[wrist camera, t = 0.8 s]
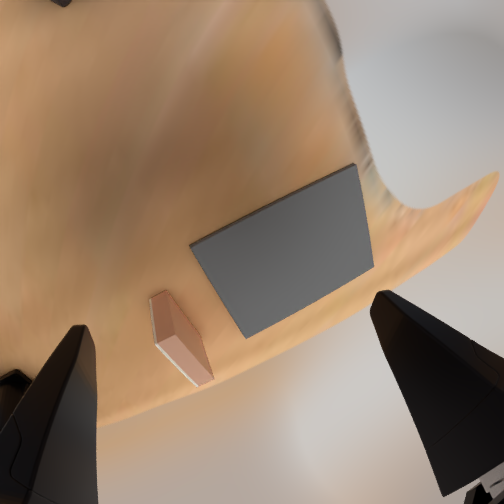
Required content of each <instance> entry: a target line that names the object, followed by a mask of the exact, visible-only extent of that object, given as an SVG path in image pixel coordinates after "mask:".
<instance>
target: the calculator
mask: <svg viewBox="0 0 504 504" xmlns="http://www.w3.org/2000/svg"><path fill="white" fill-rule="evenodd" d="M51 1H53V2H54V3H56V4H58V5H60V6H62V7H65V6H66V5H68V4H69V3H70V2H71V0H51Z"/></svg>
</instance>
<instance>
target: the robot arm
mask: <svg viewBox="0 0 504 504" xmlns="http://www.w3.org/2000/svg"><path fill="white" fill-rule="evenodd" d="M370 316H371V319H372V322H373V324H374V327H375V330H376V333H377V335H378V338H379V341H380V344H381V347H382V350H383V352H384V354H385V357H386V359H387V361H388V363H389V366H390V368H391V370H392V372H393V374H394V377H395V379H396V381H397V383H398V386H399V388H400V390H401V392H402V395H403V397H404V399H405V402H406V404H407V406H408V409H409V411H410V413H411V416H412V418H413V421H414V423H415V425H416V428H417V430H418V433H419V435H420V438H421V440H422V442H423V445H424V448H425V450H426V453H427V456H428V459H429V461H430V464H431V467H432V469H433V472H434V475H435V477H436V480H437V483H438V485H439V488H440V491H441V494H442V496H443V497H445V496H447V495H449V494H451V493H453V492H455V491H457V490H458V489H460V488H462V487H464V486H466V485H467V484H469V483H471V482H473V481H474V480H476V479H478V478H479V480H480V482H479V483H478V484H477V485H476V486H474V487H473V488H472V489H470V490H469V491H468V492H467V493H466V497H465V501H464V504H504V358H502V357H500V356H498V355H497V354H495V353H493V352H491V351H489V350H487V349H486V348H484V347H483V346H481V345H479V344H478V343H476V342H475V341H473V340H470V338H468V337H467V336H465V335H463V334H462V333H460V332H459V331H457V330H455V329H454V328H452V327H450V326H449V325H447V324H445V323H444V322H442V321H441V320H439V319H437V318H435V317H434V316H432V315H431V314H429V313H427V312H426V311H424V310H422V309H421V308H419V307H417V306H416V305H414V304H412V303H411V302H409V301H407V300H405V299H404V298H402V297H400V296H399V295H397V294H395V293H394V292H392V291H390V290H383V291H379V292H377V294H376V296H375V298H374V301H373V303H372V306H371V308H370ZM96 421H97V381H96V351H95V344H94V341H93V339H92V337H91V334H90V332H89V329H88V327H87V326H86V325H73V326H72V327H71V328H70V330H69V331H68V332H67V334H66V335H65V336H64V338H63V339H62V341H61V342H60V343H59V345H58V346H57V347H56V349H55V350H54V352H53V353H52V354H51V356H50V357H49V359H48V360H47V362H46V363H45V364H44V366H43V367H42V369H41V370H40V372H39V373H38V375H37V376H36V378H35V379H34V381H33V382H32V381H31V380H29V379H28V378H27V377H26V376H25V375H23V374H22V373H21V372H20V371H18V370H14V371H12V372H10V373H8V374H6V375H5V376H3V377H1V378H0V504H98V491H97V470H96Z"/></svg>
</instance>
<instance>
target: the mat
mask: <svg viewBox="0 0 504 504" xmlns="http://www.w3.org/2000/svg"><path fill="white" fill-rule="evenodd" d="M189 246H190V248H191V250H192V252H193V254H194V255H195V257H196V259H197V260H198V262H199V264H200V265H201V267H202V269H203V270H204V272H205V274H206V275H207V277H208V279H209V280H210V282H211V284H212V285H213V287H214V289H215V290H216V292H217V294H218V295H219V297H220V298H221V300H222V302H223V303H224V305H225V307H226V308H227V310H228V311H229V313H230V315H231V316H232V318H233V319H234V321H235V323H236V324H237V326H238V327H239V329H240V331H241V332H242V334H243V335H244V337H245V338H246V339H247V338H249V337H251V336H253V335H255V334H256V333H258V332H260V331H262V330H264V329H266V328H268V327H270V326H272V325H274V324H275V323H277V322H279V321H281V320H283V319H285V318H286V317H288V316H290V315H292V314H294V313H296V312H297V311H299V310H301V309H303V308H305V307H306V306H308V305H310V304H312V303H314V302H315V301H317V300H319V299H321V298H322V297H324V296H326V295H328V294H329V293H331V292H333V291H334V290H336V289H338V288H340V287H341V286H343V285H345V284H346V283H348V282H350V281H351V280H353V279H355V278H356V277H358V276H360V275H361V274H363V273H365V272H366V271H368V270H370V269H371V268H373V267H374V263H373V256H372V249H371V242H370V235H369V229H368V223H367V217H366V211H365V206H364V200H363V195H362V190H361V185H360V180H359V175H358V170H357V166H356V164H354V163H353V164H351V165H349V166H347V167H345V168H342V169H340V170H338V171H336V172H334V173H332V174H330V175H328V176H326V177H324V178H322V179H320V180H318V181H315V182H313V183H311V184H309V185H307V186H305V187H303V188H301V189H299V190H297V191H295V192H293V193H291V194H289V195H287V196H285V197H283V198H281V199H279V200H277V201H275V202H273V203H271V204H269V205H267V206H265V207H263V208H261V209H259V210H257V211H255V212H253V213H251V214H249V215H247V216H245V217H243V218H241V219H239V220H237V221H235V222H234V223H232V224H230V225H228V226H226V227H224V228H222V229H220V230H218V231H216V232H214V233H212V234H210V235H208V236H207V237H205V238H203V239H201V240H199V241H197V242H195V243H193V244H191V245H189Z"/></svg>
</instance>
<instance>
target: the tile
mask: <svg viewBox="0 0 504 504" xmlns="http://www.w3.org/2000/svg"><path fill="white" fill-rule="evenodd" d="M149 304H150V313H151V321H152V328H153V335H154V342H155V345H156V346H157V347H158V349H159V350H160V351H161V352H162V353H163V354H164V355H165V356H166V357H167V358H168V359H169V360H170V361H171V362H172V363H173V364H174V365H175V366H176V367H177V368H178V369H179V370H180V371H181V372H182V373H183V374H184V375H185V376H186V377H187V378H188V379H189V380H190V381H191V382H192V383H193V384H194V385H195V386H196V387H198V386H201V385H203V384H205V383H207V382H209V381H211V380H214V376H213V373H212V370H211V367H210V364H209V360H208V357H207V354H206V351H205V348H204V345H203V341H202V338H201V336H200V334H199V333H198V332H197V330H196V329H195V328H194V327H193V325H192V324H191V323H190V321H189V320H188V319H187V317H186V316H185V315H184V313H183V312H182V311H181V309H180V308H179V307H178V305H177V304H176V303H175V301H174V300H173V298H172V297H171V296H170V294H169V293H168V292H167V290H166V291H164V292H162V293H160V294H158V295H156V296H154V297H152V298H150V299H149Z"/></svg>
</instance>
